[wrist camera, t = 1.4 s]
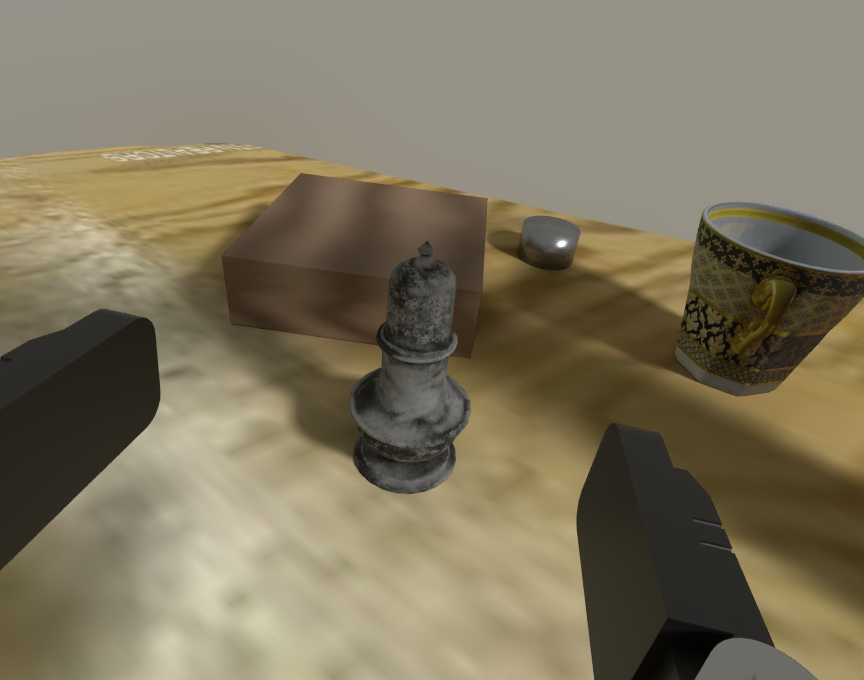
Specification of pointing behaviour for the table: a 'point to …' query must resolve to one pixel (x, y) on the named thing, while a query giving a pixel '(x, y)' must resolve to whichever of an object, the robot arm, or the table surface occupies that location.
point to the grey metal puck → (548, 242)
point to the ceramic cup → (764, 293)
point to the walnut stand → (351, 257)
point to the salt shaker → (412, 383)
